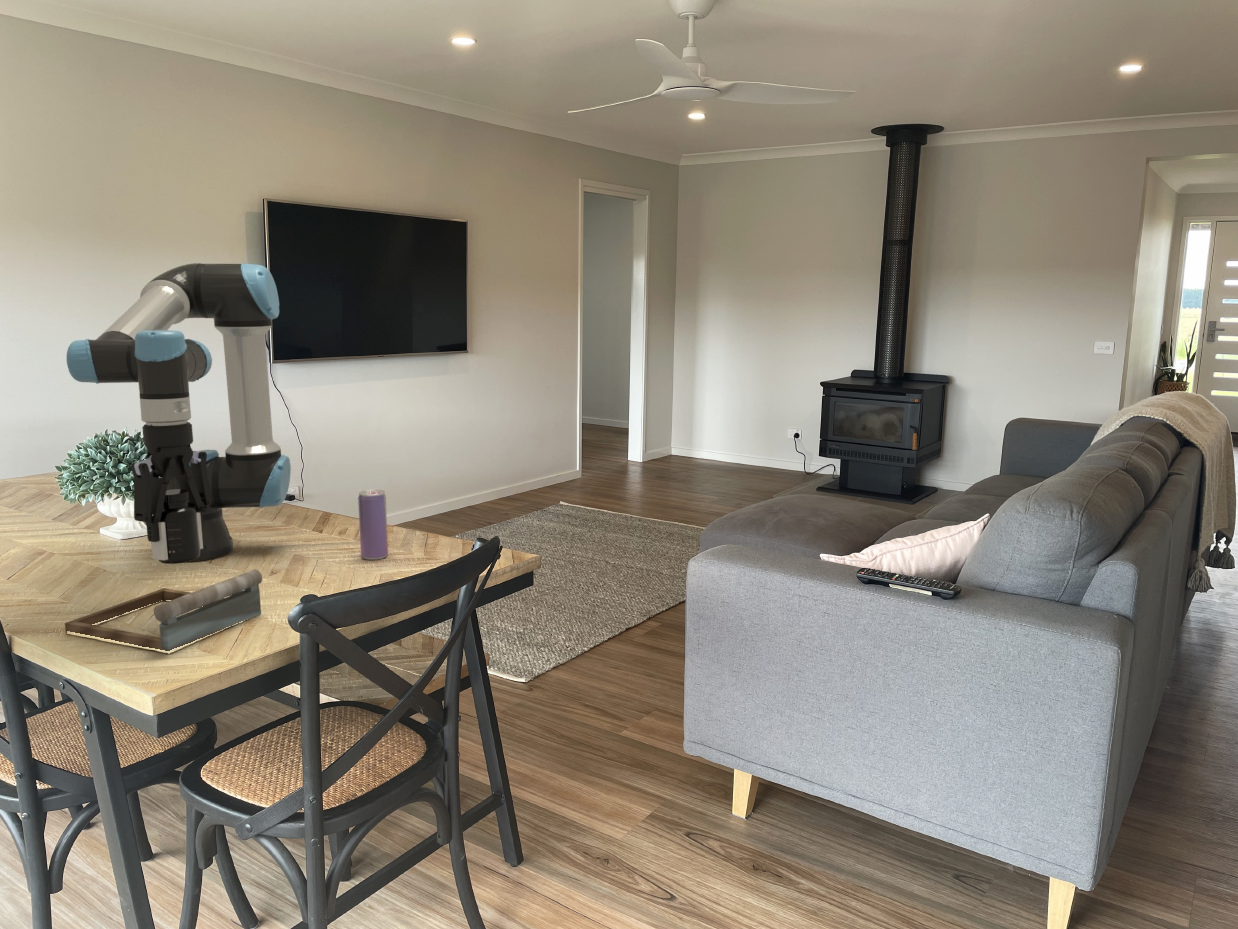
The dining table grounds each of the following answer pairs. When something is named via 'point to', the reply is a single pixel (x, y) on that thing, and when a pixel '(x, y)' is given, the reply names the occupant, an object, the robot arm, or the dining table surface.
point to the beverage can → (373, 524)
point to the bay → (120, 610)
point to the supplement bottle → (180, 527)
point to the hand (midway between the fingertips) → (178, 553)
